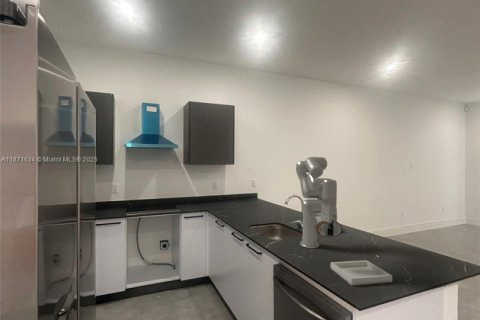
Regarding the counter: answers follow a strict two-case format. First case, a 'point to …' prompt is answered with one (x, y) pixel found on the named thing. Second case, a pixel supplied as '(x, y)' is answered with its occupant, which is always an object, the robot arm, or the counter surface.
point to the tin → (323, 229)
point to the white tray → (360, 272)
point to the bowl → (318, 217)
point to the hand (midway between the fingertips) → (328, 234)
